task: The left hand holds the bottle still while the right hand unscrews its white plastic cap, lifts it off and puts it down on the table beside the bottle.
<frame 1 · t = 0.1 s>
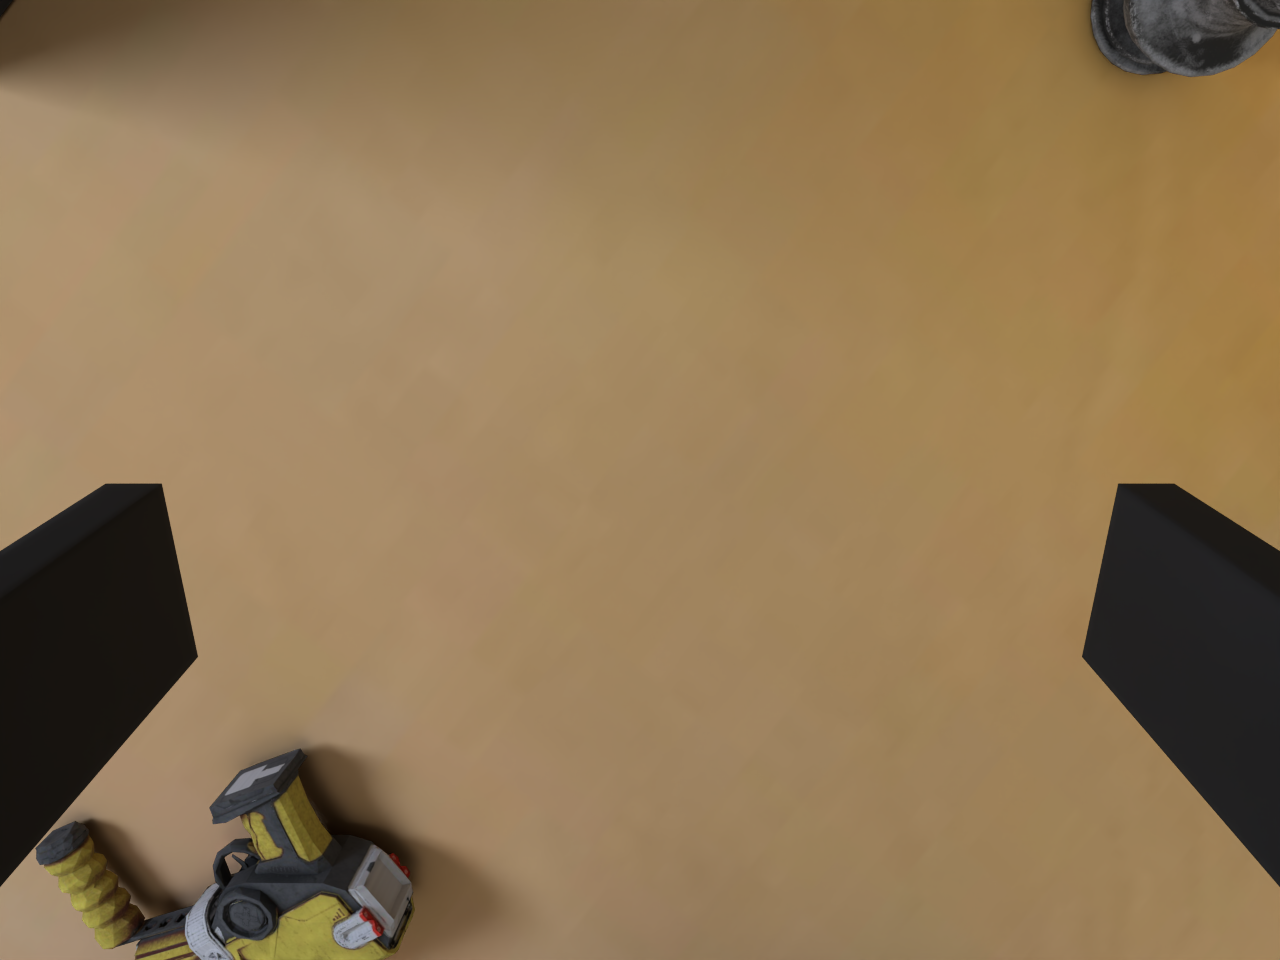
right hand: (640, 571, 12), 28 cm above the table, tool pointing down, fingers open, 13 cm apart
toy gun: (195, 881, 51), on the table
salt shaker: (1156, 1, 35), on the table
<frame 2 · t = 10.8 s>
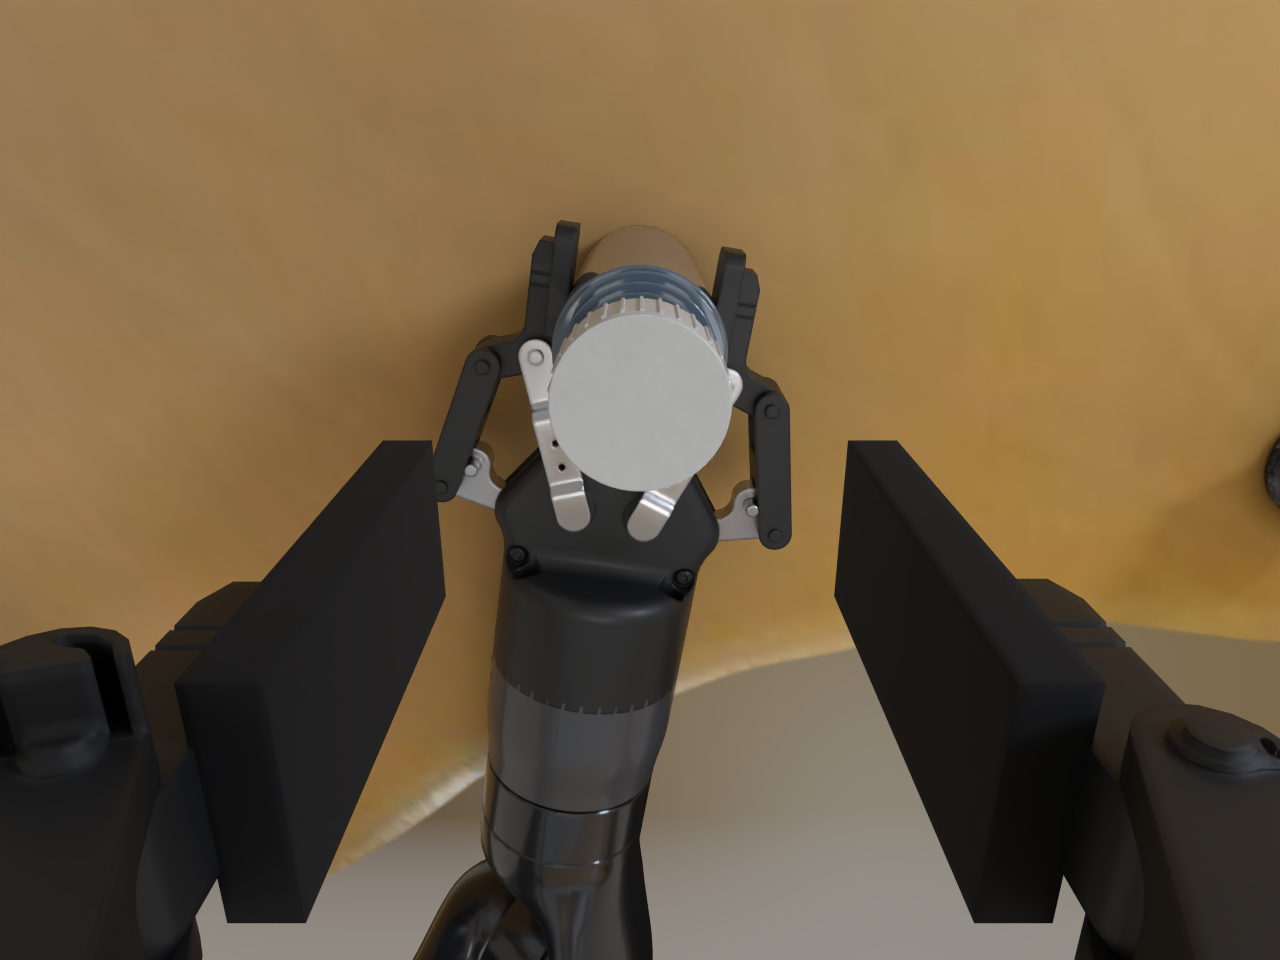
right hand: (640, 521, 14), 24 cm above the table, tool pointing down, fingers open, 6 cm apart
left hand: (650, 239, 30), fingers closed on bottle, 5 cm apart
bottle: (639, 288, 36), on the table, touching left hand
cap: (639, 402, 20), point 17 cm above the table, screwed on, not yet turned
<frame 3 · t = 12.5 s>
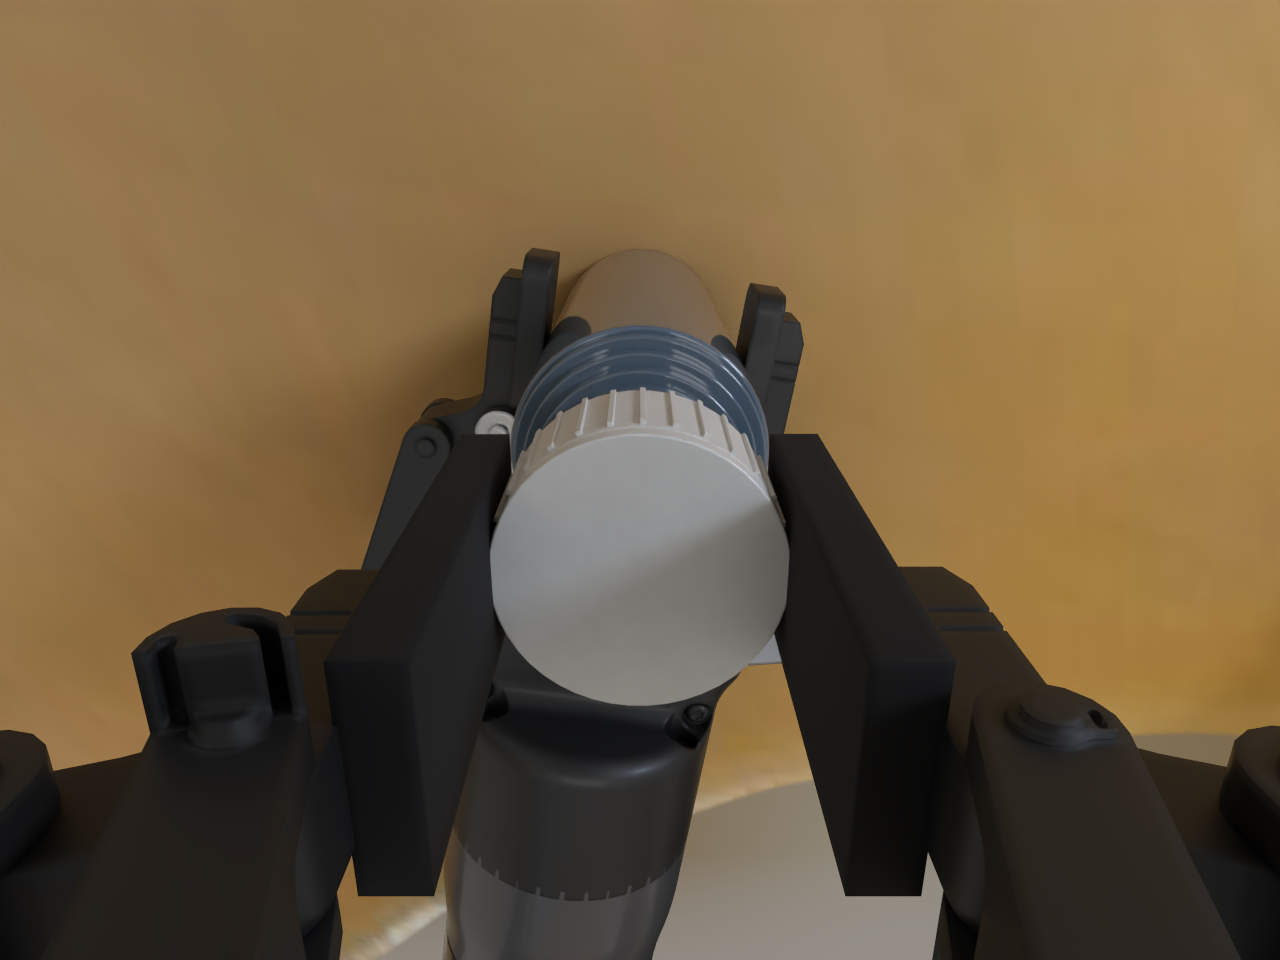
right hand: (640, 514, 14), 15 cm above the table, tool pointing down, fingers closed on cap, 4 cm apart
bottle: (639, 328, 28), on the table, touching left hand
cap: (639, 569, 12), point 17 cm above the table, screwed on, not yet turned, touching right hand
when the right hand's fingers open (1 cm above the table, at t = 29.2 s): cap stays where it is, point 2 cm above the table.
when the left hand's fingers open (6 cm above the table, at t = 30.5 s): bottle stays where it is, on the table.
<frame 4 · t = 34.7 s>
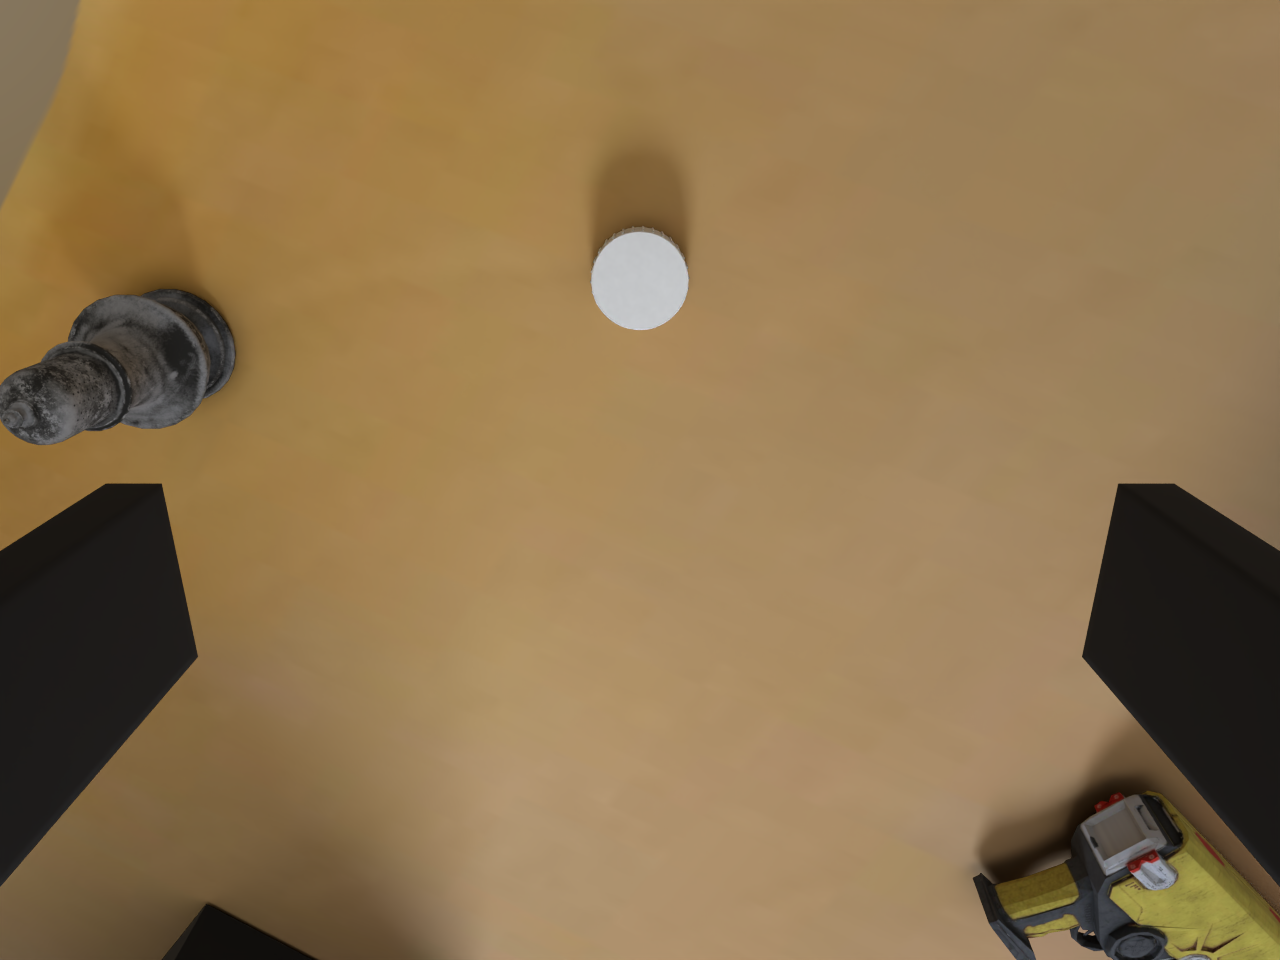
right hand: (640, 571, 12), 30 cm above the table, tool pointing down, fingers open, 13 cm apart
toy gun: (1135, 939, 55), on the table
cap: (639, 280, 38), point 2 cm above the table, off its thread
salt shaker: (180, 345, 41), on the table
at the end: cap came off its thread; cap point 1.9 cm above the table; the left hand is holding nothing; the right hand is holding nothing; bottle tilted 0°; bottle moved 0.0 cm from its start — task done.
